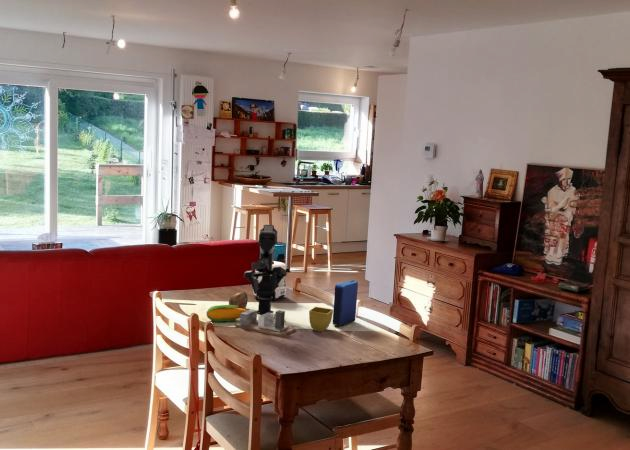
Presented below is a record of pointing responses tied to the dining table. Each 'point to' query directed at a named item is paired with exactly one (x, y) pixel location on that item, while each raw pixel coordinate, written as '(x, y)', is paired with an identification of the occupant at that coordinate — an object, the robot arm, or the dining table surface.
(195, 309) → the dining table surface
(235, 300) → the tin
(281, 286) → the milk container
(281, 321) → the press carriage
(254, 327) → the press base
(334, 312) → the book
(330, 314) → the flower pot
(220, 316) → the corn
